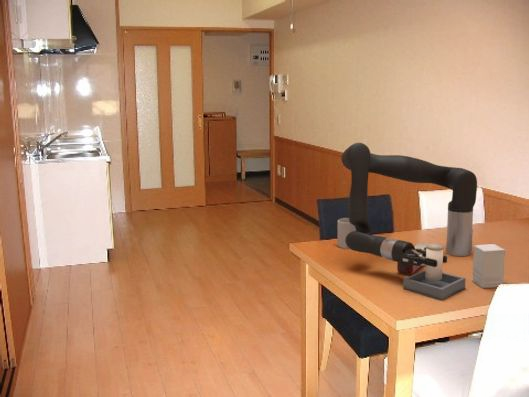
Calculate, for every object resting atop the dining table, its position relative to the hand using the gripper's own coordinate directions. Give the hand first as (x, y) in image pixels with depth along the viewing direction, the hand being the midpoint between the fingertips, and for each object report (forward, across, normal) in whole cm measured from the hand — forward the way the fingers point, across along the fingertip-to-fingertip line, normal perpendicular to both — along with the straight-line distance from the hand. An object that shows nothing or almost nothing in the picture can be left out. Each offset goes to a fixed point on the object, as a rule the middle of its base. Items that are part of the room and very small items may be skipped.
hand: (441, 261), depth 174 cm
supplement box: (+8, +16, +10) cm, 20 cm away
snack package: (-19, +15, +10) cm, 27 cm away
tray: (-2, 0, +10) cm, 10 cm away
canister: (-3, 0, +6) cm, 7 cm away
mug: (-54, +20, +10) cm, 59 cm away
